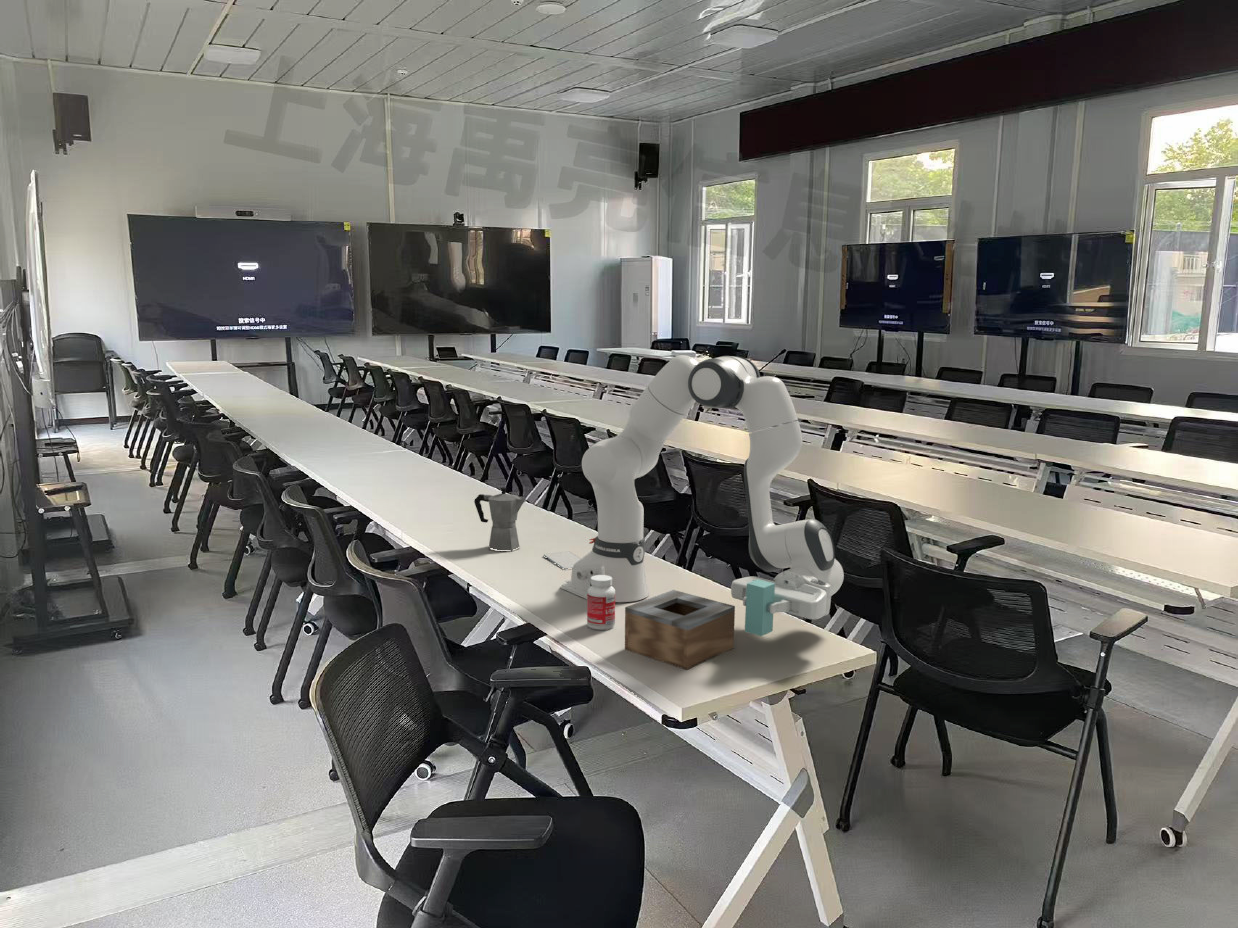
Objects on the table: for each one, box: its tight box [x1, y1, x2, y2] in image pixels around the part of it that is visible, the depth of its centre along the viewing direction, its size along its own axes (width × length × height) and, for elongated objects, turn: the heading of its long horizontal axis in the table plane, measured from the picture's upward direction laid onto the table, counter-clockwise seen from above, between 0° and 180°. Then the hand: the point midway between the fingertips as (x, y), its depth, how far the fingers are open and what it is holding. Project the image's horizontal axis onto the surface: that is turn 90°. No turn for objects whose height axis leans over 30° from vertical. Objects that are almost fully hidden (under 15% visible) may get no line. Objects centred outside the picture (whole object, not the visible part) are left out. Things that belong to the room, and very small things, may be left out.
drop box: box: [624, 589, 736, 671], centre depth 189 cm, size 16×16×9 cm
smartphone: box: [543, 551, 582, 569], centre depth 254 cm, size 8×1×15 cm
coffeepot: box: [473, 486, 527, 550], centre depth 265 cm, size 15×9×18 cm, turn 80°
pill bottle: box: [586, 575, 616, 631], centre depth 202 cm, size 6×6×11 cm
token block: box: [744, 579, 775, 637], centre depth 184 cm, size 4×4×10 cm
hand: (757, 605), depth 183 cm, fingers closed on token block, 4 cm apart
